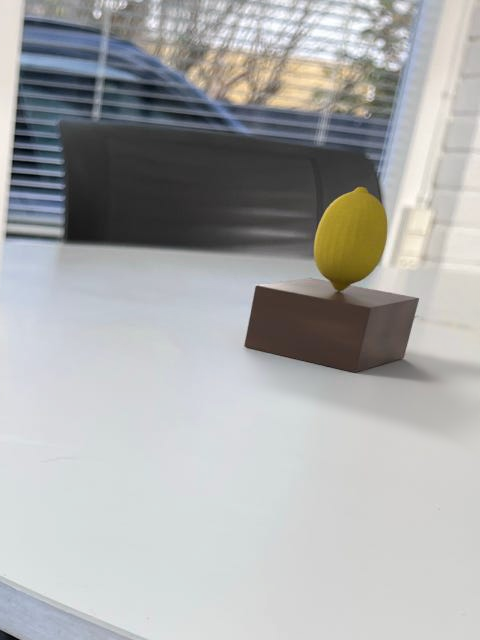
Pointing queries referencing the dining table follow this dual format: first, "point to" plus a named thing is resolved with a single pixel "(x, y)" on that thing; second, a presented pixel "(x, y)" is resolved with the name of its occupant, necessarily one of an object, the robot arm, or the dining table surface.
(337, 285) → the lemon
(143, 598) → the dining table surface
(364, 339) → the block
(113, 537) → the dining table surface
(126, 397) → the dining table surface
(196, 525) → the dining table surface
